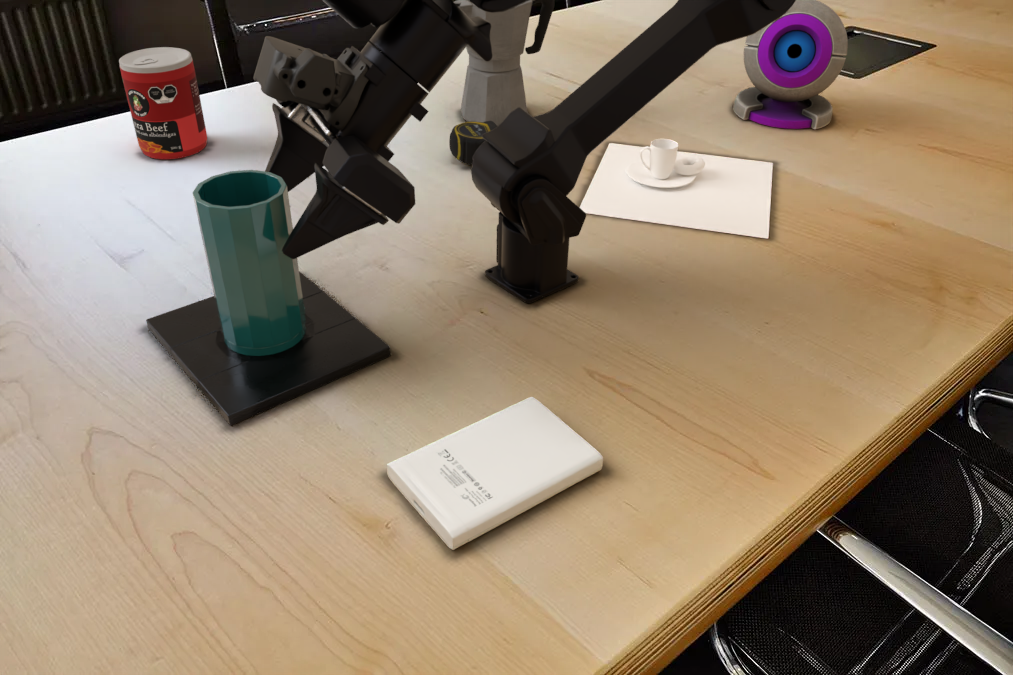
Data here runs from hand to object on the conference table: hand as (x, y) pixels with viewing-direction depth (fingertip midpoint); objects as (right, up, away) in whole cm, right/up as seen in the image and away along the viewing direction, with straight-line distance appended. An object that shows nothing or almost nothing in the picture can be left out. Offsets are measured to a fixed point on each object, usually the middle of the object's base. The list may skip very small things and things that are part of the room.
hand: (272, 228), depth 66 cm
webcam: (+56, +22, +51) cm, 79 cm away
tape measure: (+15, +13, +37) cm, 42 cm away
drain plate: (-2, -9, +5) cm, 10 cm away
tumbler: (-2, -8, +5) cm, 9 cm away
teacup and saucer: (+38, +9, +32) cm, 50 cm away
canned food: (-22, +14, +38) cm, 46 cm away
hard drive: (+17, -18, -7) cm, 26 cm away
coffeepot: (+17, +22, +49) cm, 57 cm away
